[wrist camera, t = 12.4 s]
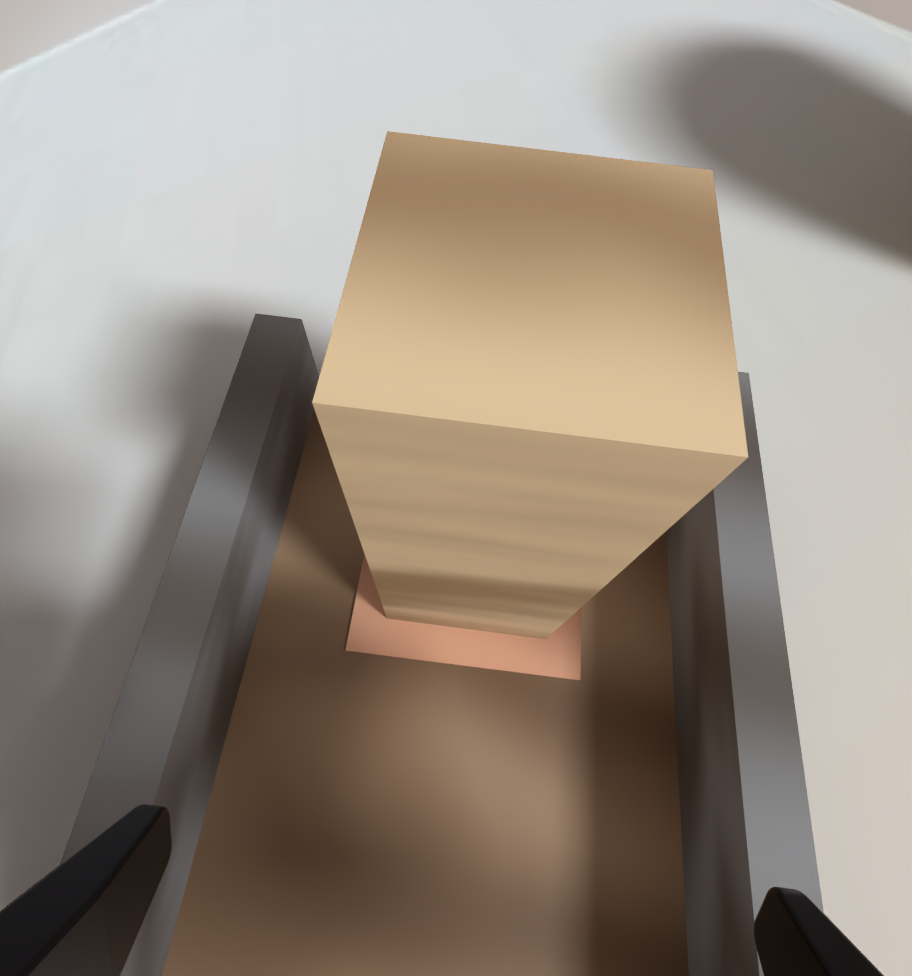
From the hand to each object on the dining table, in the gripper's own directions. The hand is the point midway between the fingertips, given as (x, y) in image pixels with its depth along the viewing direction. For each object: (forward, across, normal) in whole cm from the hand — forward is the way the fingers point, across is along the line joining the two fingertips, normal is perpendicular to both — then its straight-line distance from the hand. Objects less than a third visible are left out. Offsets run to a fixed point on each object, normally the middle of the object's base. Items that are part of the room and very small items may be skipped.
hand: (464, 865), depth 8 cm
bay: (+9, 0, +3) cm, 9 cm away
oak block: (+11, 0, 0) cm, 11 cm away
